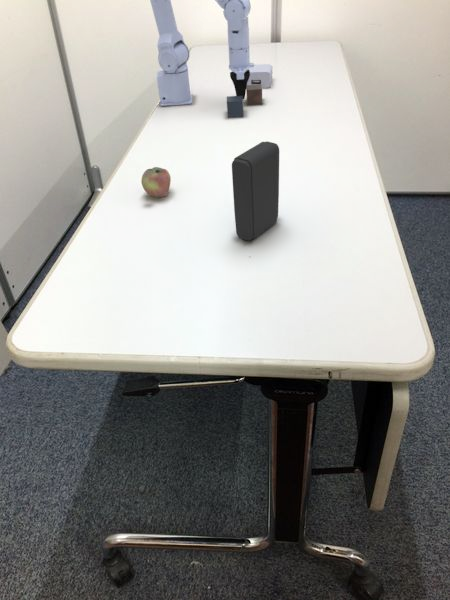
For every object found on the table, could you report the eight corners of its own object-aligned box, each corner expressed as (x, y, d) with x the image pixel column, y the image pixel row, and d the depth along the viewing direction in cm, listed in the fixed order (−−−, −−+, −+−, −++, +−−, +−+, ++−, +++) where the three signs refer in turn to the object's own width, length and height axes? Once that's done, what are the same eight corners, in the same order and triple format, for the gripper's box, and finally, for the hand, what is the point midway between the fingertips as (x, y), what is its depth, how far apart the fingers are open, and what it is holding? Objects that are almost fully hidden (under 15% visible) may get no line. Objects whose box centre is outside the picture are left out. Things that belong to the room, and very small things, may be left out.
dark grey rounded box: (263, 215, 88) (262, 137, 79) (280, 221, 86) (282, 142, 77) (233, 237, 83) (228, 157, 74) (251, 244, 81) (248, 163, 71)
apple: (140, 205, 94) (135, 178, 90) (147, 187, 100) (142, 161, 96) (169, 204, 94) (165, 177, 90) (174, 186, 100) (171, 160, 96)
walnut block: (247, 105, 135) (246, 89, 132) (246, 100, 139) (246, 85, 136) (262, 104, 135) (262, 88, 132) (261, 99, 138) (261, 84, 136)
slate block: (227, 118, 129) (226, 101, 126) (227, 112, 132) (226, 96, 129) (243, 117, 129) (242, 100, 126) (243, 111, 132) (242, 95, 129)
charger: (273, 74, 157) (270, 87, 146) (246, 74, 159) (241, 88, 148) (273, 58, 154) (270, 71, 143) (245, 59, 156) (241, 72, 145)
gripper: (254, 52, 121) (255, 106, 130) (252, 40, 132) (253, 89, 141) (227, 54, 122) (230, 107, 131) (227, 41, 133) (230, 91, 142)
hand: (240, 98), depth 136 cm, fingers closed, pressing on walnut block
